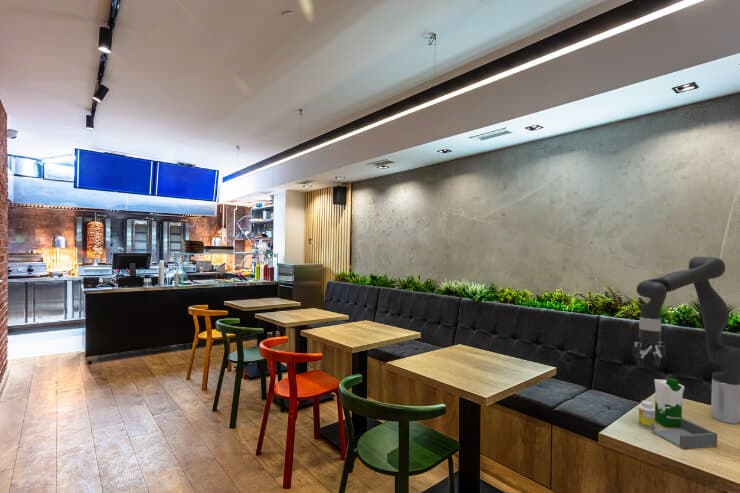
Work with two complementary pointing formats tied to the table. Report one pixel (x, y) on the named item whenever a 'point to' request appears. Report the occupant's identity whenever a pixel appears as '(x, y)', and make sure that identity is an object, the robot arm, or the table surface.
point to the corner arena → (688, 436)
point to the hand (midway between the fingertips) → (648, 366)
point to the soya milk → (668, 402)
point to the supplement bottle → (647, 415)
